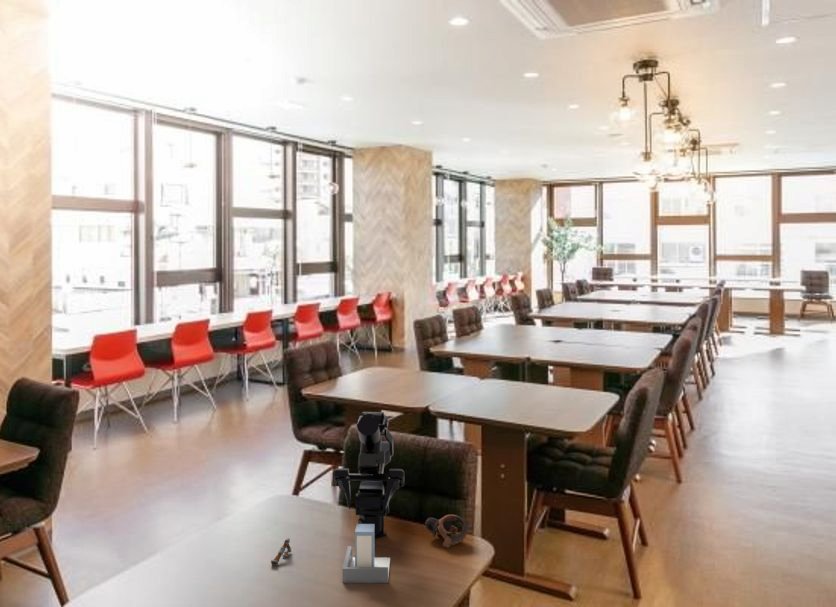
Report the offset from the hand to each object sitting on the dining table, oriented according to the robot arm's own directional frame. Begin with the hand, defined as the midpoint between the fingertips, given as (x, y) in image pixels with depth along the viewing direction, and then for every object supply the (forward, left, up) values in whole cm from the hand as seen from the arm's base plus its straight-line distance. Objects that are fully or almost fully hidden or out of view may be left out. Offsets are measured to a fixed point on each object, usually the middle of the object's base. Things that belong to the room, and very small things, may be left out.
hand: (367, 508), depth 172 cm
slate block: (+4, +6, -13) cm, 15 cm away
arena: (+3, +6, -13) cm, 15 cm away
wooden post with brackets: (+19, -12, -14) cm, 26 cm away
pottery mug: (-24, +2, -14) cm, 27 cm away
